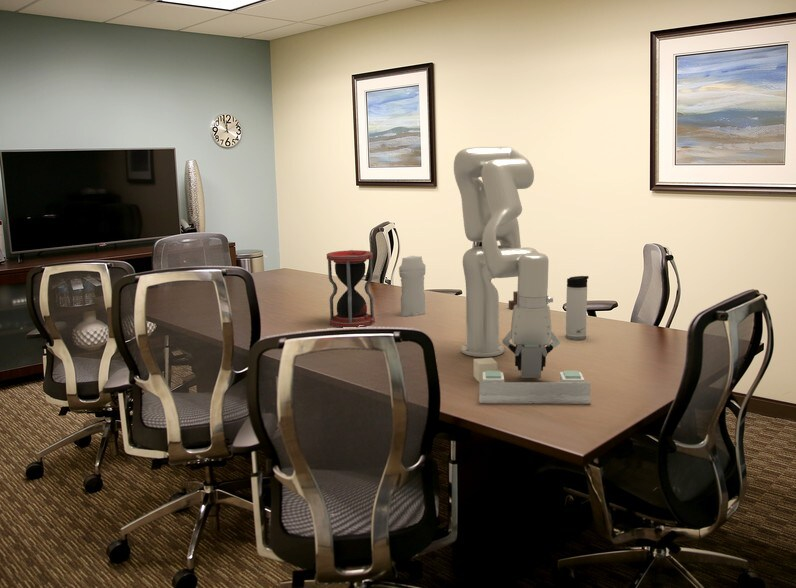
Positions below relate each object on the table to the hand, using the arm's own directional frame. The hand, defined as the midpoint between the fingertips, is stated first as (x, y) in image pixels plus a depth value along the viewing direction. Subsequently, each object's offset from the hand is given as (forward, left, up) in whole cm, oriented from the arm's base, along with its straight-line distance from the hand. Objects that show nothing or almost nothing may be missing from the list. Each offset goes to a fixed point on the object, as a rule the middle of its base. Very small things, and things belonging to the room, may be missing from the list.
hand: (530, 368), depth 190 cm
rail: (+17, -1, -3) cm, 17 cm away
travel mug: (-43, +18, -3) cm, 47 cm away
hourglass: (-65, -57, -3) cm, 86 cm away
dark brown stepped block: (-88, +3, -4) cm, 88 cm away
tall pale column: (-77, -36, -3) cm, 85 cm away
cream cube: (-1, -12, -3) cm, 12 cm away
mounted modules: (+12, -1, -3) cm, 13 cm away
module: (0, 0, -1) cm, 1 cm away
